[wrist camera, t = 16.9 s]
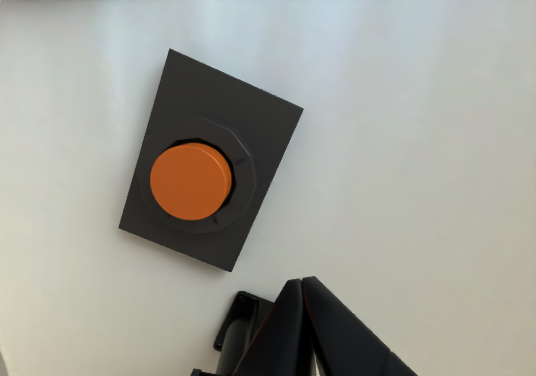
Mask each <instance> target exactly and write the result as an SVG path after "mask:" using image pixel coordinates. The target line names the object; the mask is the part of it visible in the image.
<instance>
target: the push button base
mask: <svg viewBox="0 0 536 376" xmlns="http://www.w3.org/2000/svg"><path fill="white" fill-rule="evenodd" d="M303 110H304V109H303V108H301V107H299V106H297V105H295V104H292V103H290V102H288V101H286V100H284V99H281V98H279V97H277V96H275V95H272V94H270V93H268V92H266V91H264V90H261V89H259V88H257V87H255V86H252V85H250V84H248V83H246V82H243V81H241V80H239V79H237V78H235V77H232V76H230V75H228V74H226V73H223V72H221V71H219V70H217V69H215V68H212V67H210V66H208V65H206V64H203V63H201V62H199V61H197V60H194V59H192V58H190V57H188V56H186V55H183V54H181V53H179V52H177V51H174V50H172V49H169V52H168V56H167V59H166V63H165V66H164V70H163V73H162V77H161V80H160V84H159V87H158V91H157V94H156V98H155V101H154V105H153V108H152V112H151V115H150V119H149V122H148V126H147V129H146V133H145V136H144V140H143V143H142V147H141V150H140V154H139V158H138V161H137V165H136V168H135V172H134V175H133V179H132V182H131V186H130V189H129V193H128V196H127V200H126V203H125V207H124V210H123V214H122V217H121V221H120V224H119V229H122V230H124V231H127V232H129V233H132V234H135V235H137V236H140V237H142V238H145V239H147V240H150V241H152V242H155V243H157V244H160V245H162V246H165V247H168V248H170V249H173V250H175V251H178V252H180V253H183V254H185V255H188V256H190V257H193V258H195V259H198V260H201V261H203V262H206V263H208V264H211V265H213V266H216V267H218V268H221V269H223V270H226V271H228V272H232V270H233V267H234V265H235V263H236V261H237V258H238V256H239V254H240V252H241V249H242V247H243V245H244V243H245V240H246V238H247V236H248V234H249V231H250V229H251V227H252V225H253V222H254V220H255V218H256V216H257V213H258V211H259V209H260V206H261V204H262V202H263V200H264V197H265V195H266V193H267V191H268V188H269V186H270V184H271V182H272V179H273V177H274V175H275V173H276V170H277V168H278V166H279V164H280V161H281V159H282V157H283V155H284V152H285V150H286V148H287V146H288V143H289V141H290V139H291V137H292V134H293V132H294V130H295V128H296V125H297V123H298V121H299V119H300V116H301V114H302V112H303ZM187 143H201V144H205V145H208V146H210V147H212V148H214V149H215V150H217V151H218V152H219V153H220V154H221V155H222V156H223V157H224V159H225V160H226V161H227V163H228V165H229V168H230V171H231V177H232V183H231V188H230V191H229V194H228V196H227V197H226V199H225V200H224V202H223V203H222V205H221V206H220V208H219V209H218V210H217V211H216V212H215V213H213V214H212V215H210V216H208V217H206V218H204V219H200V220H184V219H180V218H177V217H175V216H173V215H171V214H169V213H168V212H166V211H165V210H164V209H163V208H162V207H161V206H160V205H159V204H158V202H157V201H156V199H155V197H154V195H153V193H152V190H151V185H150V174H151V170H152V167H153V165H154V163H155V161H156V160H157V158H158V157H159V156H160V155H161V154H162V153H163V152H165V151H166V150H168V149H170V148H173V147H176V146H180V145H183V144H187Z"/></svg>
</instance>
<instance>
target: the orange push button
mask: <svg viewBox="0 0 536 376" xmlns="http://www.w3.org/2000/svg"><path fill="white" fill-rule="evenodd" d="M231 183H232V177H231V171H230V168H229V165H228V163H227V161H226V160H225V159H224V157H223V156H222V155H221V154H220V153H219V152H218V151H217V150H215V149H214V148H212V147H210V146H208V145H205V144H201V143H187V144H183V145H180V146H176V147H173V148H170V149H168V150H166V151H165V152H163V153H162V154H161V155H160V156H159V157H158V158H157V160H156V161H155V163H154V165H153V167H152V170H151V174H150V185H151V190H152V193H153V195H154V197H155V199H156V201H157V202H158V204H159V205H160V206H161V207H162V208H163V209H164V210H165V211H166V212H168V213H169V214H171V215H173V216H175V217H177V218H180V219H184V220H200V219H204V218H206V217H208V216H210V215H212V214H213V213H215V212H216V211H217V210H218V209H219V208H220V206H221V205H222V203H223V202H224V200H225V199H226V197H227V196H228V194H229V191H230V188H231Z"/></svg>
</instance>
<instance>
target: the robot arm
mask: <svg viewBox="0 0 536 376" xmlns="http://www.w3.org/2000/svg"><path fill="white" fill-rule="evenodd" d="M240 296H242V297H244V298H240ZM218 344H220V345H218ZM213 347H214V349H215V350H217V351H219V352H221V354H220V358H219V362H218V366H217V370H216V374H212V373H207V372H202V370H200V369H193V371H192V373H191V376H316V362H317V366H318V370H319V374H320V376H418V375H417V374H416V373H414V372H413V371H412V370H411V369H410V368H409V367H408V366H407V365H406V364H405V363H404V362H403V361H402V360H401V359H400V358H399V357H398V356H397V355H396V354H395V353H394V352H391V350H390V349H389V348H388V347H387V346H386V345H385V344H384V343H383V342H382V341H381V340H380V339H379V338H378V337H377V336H376V335H375V334H374V333H373V332H372V331H371V330H370V329H369V328H368V327H367V326H366V325H365V324H364V323H363V322H361V321H360V320H359V319H358V318H357V317H356V316H355V315H354V314H353V313H352V312H351V311H350V310H349V309H348V308H347V307H346V306H345V305H344V304H343V303H342V302H341V301H340V300H339V299H338V298H337V297H336V296H335V295H334V294H333V293H332V292H331V291H330V290H329V289H328V288H326V287H325V286H324V285H323V284H322V283H321V282H320V281H319V280H318V279H317V278H316V277H315V276H311V277H305V278H302V281H301V279H292V280H288V281H287V282H286V284H285V285H284V287H283V289H282V291H281V292H280V294H279V296H278V297H277V299H276V301H275V302H274V303H273V302H271V301H268V300H266V299H263V298H260V297H258V296H255V295H252V294H250V293H247V292H245V291H239V292H237V294H236V296H235V298H234V300H233V302H232V305H231V307H230V309H229V311H228V313H227V315H226V317H225V320H224V322H223V324H222V326H221V328H220V330H219V333H218V335H217V337H216V339H215V341H214V345H213ZM314 353H315V354H314ZM315 358H316V362H315Z"/></svg>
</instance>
